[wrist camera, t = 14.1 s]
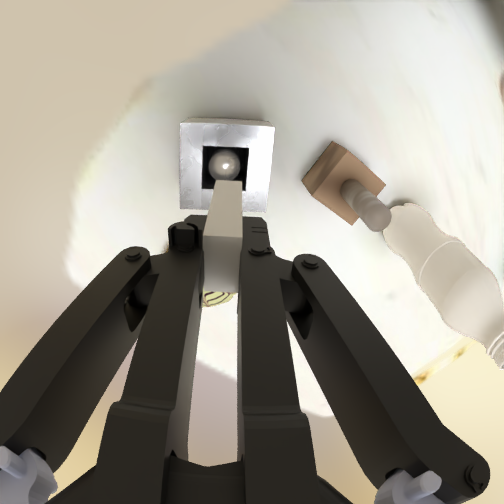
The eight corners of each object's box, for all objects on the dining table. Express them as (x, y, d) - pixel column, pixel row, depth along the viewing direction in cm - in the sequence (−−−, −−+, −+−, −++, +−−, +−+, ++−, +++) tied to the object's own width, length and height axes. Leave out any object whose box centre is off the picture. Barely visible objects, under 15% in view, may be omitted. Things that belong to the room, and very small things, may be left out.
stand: (332, 141, 30) (379, 170, 20) (367, 171, 32) (420, 211, 22) (301, 180, 33) (332, 227, 23) (337, 207, 35) (377, 260, 25)
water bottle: (382, 195, 34) (513, 336, 13) (424, 198, 35) (550, 319, 13) (372, 243, 38) (467, 395, 17) (413, 243, 38) (511, 373, 17)
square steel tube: (187, 190, 31) (180, 208, 26) (188, 117, 26) (180, 123, 22) (261, 193, 31) (265, 212, 27) (268, 121, 27) (275, 127, 23)
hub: (218, 115, 28) (213, 121, 23) (264, 144, 30) (271, 158, 25) (189, 160, 31) (178, 177, 25) (234, 187, 33) (234, 209, 27)
